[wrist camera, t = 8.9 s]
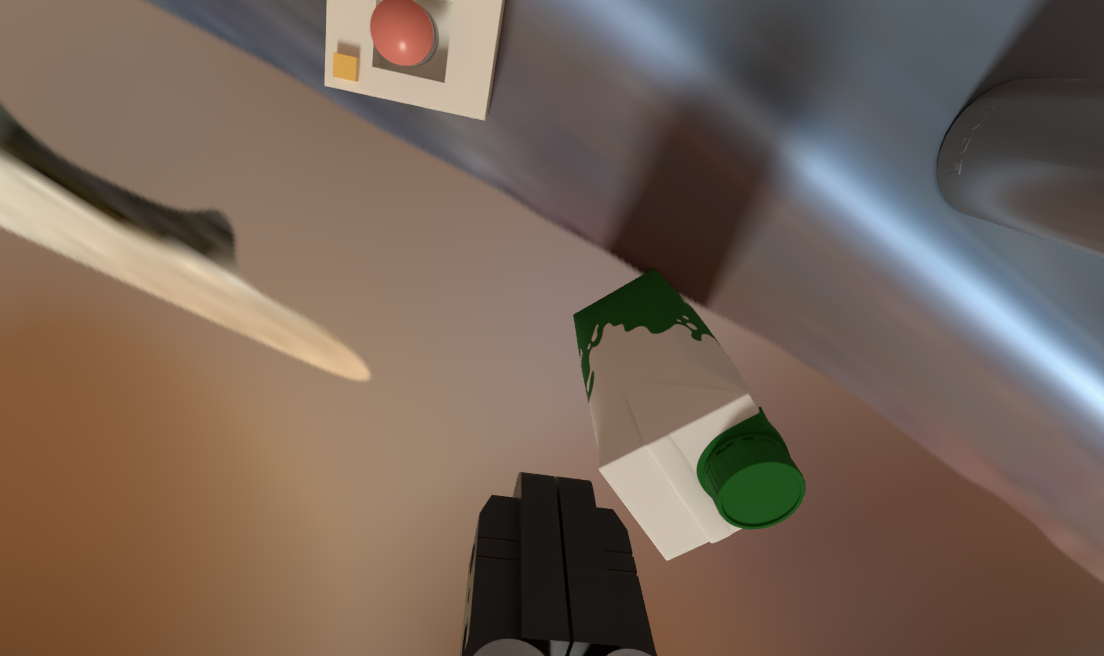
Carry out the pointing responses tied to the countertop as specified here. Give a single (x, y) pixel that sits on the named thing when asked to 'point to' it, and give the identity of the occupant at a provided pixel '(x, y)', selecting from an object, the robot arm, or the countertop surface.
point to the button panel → (441, 83)
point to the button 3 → (404, 32)
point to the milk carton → (679, 421)
